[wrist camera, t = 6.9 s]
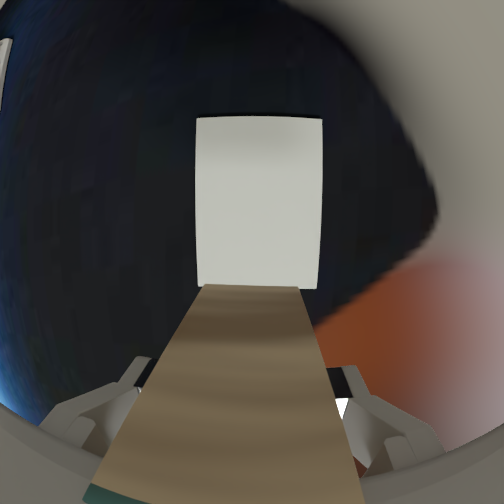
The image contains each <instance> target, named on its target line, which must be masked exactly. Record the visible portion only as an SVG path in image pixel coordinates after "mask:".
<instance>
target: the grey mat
mask: <svg viewBox="0 0 504 504" xmlns="http://www.w3.org/2000/svg"><path fill="white" fill-rule="evenodd" d="M195 201H196V248H197V272H198V286H204V284H224V285H253V286H298V288H299V289H316V288H317V276H318V263H319V248H320V231H321V208H322V119H312V118H297V117H272V116H234V117H210V118H197V126H196V171H195Z"/></svg>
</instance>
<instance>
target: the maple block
mask: <svg viewBox="0 0 504 504" xmlns="http://www.w3.org/2000/svg"><path fill="white" fill-rule="evenodd" d="M82 500H83V501H84V502H85V503H87V504H365V501H364V497H363V493H362V489H361V485H360V481H359V478H358V474H357V470H356V467H355V463H354V459H353V456H352V452H351V449H350V445H349V442H348V439H347V435H346V432H345V428H344V425H343V422H342V418H341V415H340V412H339V408H338V405H337V402H336V399H335V396H334V392H333V389H332V386H331V383H330V380H329V377H328V373H327V370H326V367H325V364H324V361H323V358H322V355H321V352H320V349H319V346H318V343H317V340H316V337H315V334H314V331H313V328H312V325H311V322H310V320H309V317H308V314H307V311H306V308H305V305H304V302H303V299H302V297H301V294H300V291H299V288H298V286H253V285H224V284H204V286H203V287H202V289H201V291H200V292H199V294H198V296H197V297H196V299H195V300H194V302H193V304H192V305H191V307H190V309H189V310H188V312H187V314H186V315H185V317H184V319H183V320H182V322H181V324H180V325H179V327H178V329H177V330H176V332H175V334H174V335H173V337H172V339H171V340H170V342H169V344H168V345H167V347H166V349H165V350H164V352H163V354H162V355H161V357H160V359H159V361H158V362H157V364H156V366H155V367H154V369H153V371H152V372H151V374H150V376H149V378H148V379H147V381H146V383H145V385H144V386H143V388H142V390H141V392H140V393H139V395H138V397H137V399H136V400H135V402H134V404H133V406H132V407H131V409H130V411H129V413H128V414H127V416H126V418H125V420H124V422H123V423H122V425H121V427H120V429H119V431H118V432H117V434H116V436H115V438H114V440H113V441H112V443H111V445H110V447H109V449H108V451H107V453H106V454H105V456H104V458H103V460H102V462H101V464H100V466H99V467H98V469H97V471H96V473H95V475H94V477H93V479H92V481H91V483H90V485H89V487H88V488H87V490H86V492H85V494H84V496H83V498H82Z"/></svg>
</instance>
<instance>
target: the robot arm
mask: <svg viewBox="0 0 504 504" xmlns="http://www.w3.org/2000/svg"><path fill="white" fill-rule="evenodd" d="M12 41H13V40H12V39H9V38H6V39H3V40H1V41H0V109H1V99H2V91H3V84H4V78H5V72H6V67H7V62H8V58H9V53H10V49H11V45H12ZM158 361H159V359H154V358H148V357H142V356H138V357H136V358H135V359H134V361H133V362H132V364H131V365H130V366H129V368H128V369H127V371H126V372H125V373H124V375H123V376H122V378H121V379H120V380H119V382H118V383H115V382H113V383H110V384H108V385H106V386H103V387H101V388H98V389H96V390H93V391H91V392H88V393H86V394H83V395H81V396H78V397H76V398H73V399H70V400H68V401H65V402H62V403H60V404H57V405H56V406H55V407H54V409H53V410H52V411H51V412H50V413H49V414H48V416H47V417H46V418H45V419H44V420H43V422H42V423H41V424H40V425H39V426H38V427H37V426H36V425H34V424H32V423H30V422H29V421H27V420H26V419H24V418H22V417H21V416H19V415H18V414H16V413H15V412H13V411H12V410H10V409H9V408H7V407H6V406H4V405H3V404H1V403H0V504H87V503H85V502H84V501H83V500H82V498H83V496H84V494H85V492H86V490H87V488H88V487H89V485H90V483H91V481H92V479H93V477H94V475H95V473H96V471H97V469H98V467H99V466H100V464H101V462H102V460H103V458H104V456H105V454H106V453H107V451H108V449H109V447H110V445H111V443H112V441H113V440H114V438H115V436H116V434H117V432H118V431H119V429H120V427H121V425H122V423H123V422H124V420H125V418H126V416H127V414H128V413H129V411H130V409H131V407H132V406H133V404H134V402H135V400H136V399H137V397H138V395H139V393H140V392H141V390H142V388H143V386H144V385H145V383H146V381H147V379H148V378H149V376H150V374H151V372H152V371H153V369H154V367H155V366H156V364H157V362H158ZM326 370H327V373H328V377H329V380H330V383H331V386H332V389H333V392H334V396H335V399H336V402H337V405H338V408H339V412H340V415H341V418H342V422H343V425H344V428H345V432H346V435H347V439H348V442H349V445H350V449H351V452H352V455H353V456H354V457H355V458H357V459H358V460H359V461H360V462H361V463H362V464H363V465H364V466H366V468H368V470H367V471H366V473H365V474H364V476H363V477H362V478H359V481H360V485H361V489H362V493H363V497H364V501H365V504H504V423H503V424H501V425H500V426H498V427H496V428H495V429H493V430H491V431H489V432H488V433H486V434H484V435H482V436H480V437H478V438H476V439H474V440H472V441H470V442H468V443H466V444H464V445H462V446H460V447H458V448H455V449H453V450H451V451H448V452H446V451H445V450H444V448H443V446H442V444H441V442H440V441H439V439H438V437H437V436H436V434H435V432H434V431H433V429H432V427H431V426H430V425H428V424H426V423H424V422H422V421H420V420H418V419H417V418H415V417H413V416H411V415H409V414H407V413H405V412H404V411H402V410H400V409H398V408H396V407H395V406H393V405H391V404H389V403H388V402H386V401H384V400H382V399H380V398H379V397H377V396H375V395H374V396H371V395H370V393H369V391H368V389H367V387H366V385H365V383H364V381H363V379H362V377H361V375H360V373H359V371H358V369H357V367H356V366H355V365H352V366H342V367H336V368H326Z"/></svg>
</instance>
